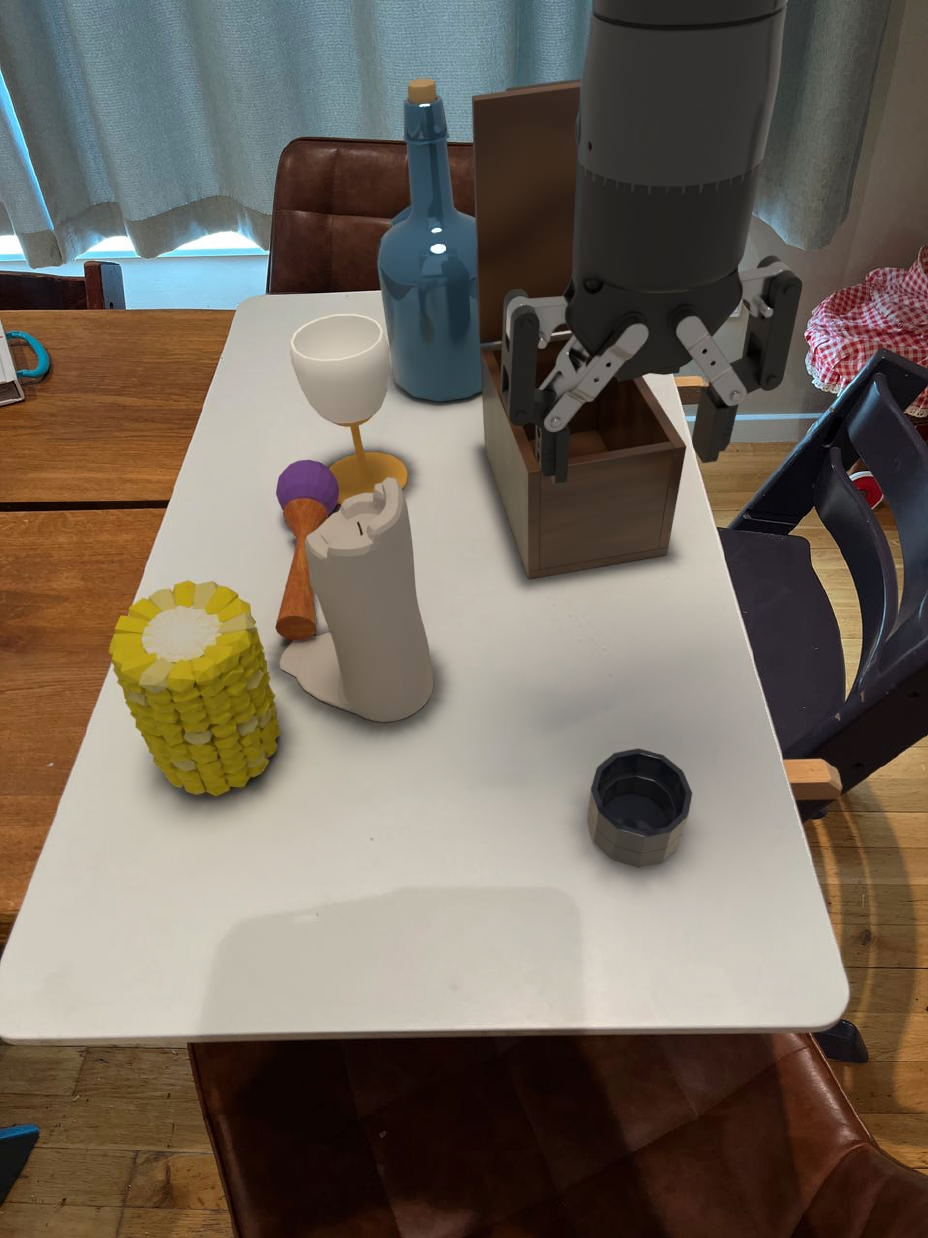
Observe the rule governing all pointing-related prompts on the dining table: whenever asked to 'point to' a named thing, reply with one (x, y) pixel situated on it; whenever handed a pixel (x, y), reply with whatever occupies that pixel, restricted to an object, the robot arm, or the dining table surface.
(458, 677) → the dining table surface
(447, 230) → the wine bottle
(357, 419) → the cup
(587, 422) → the chest
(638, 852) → the bowl
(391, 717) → the candle
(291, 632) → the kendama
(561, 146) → the lid
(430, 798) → the dining table surface
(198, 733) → the food
